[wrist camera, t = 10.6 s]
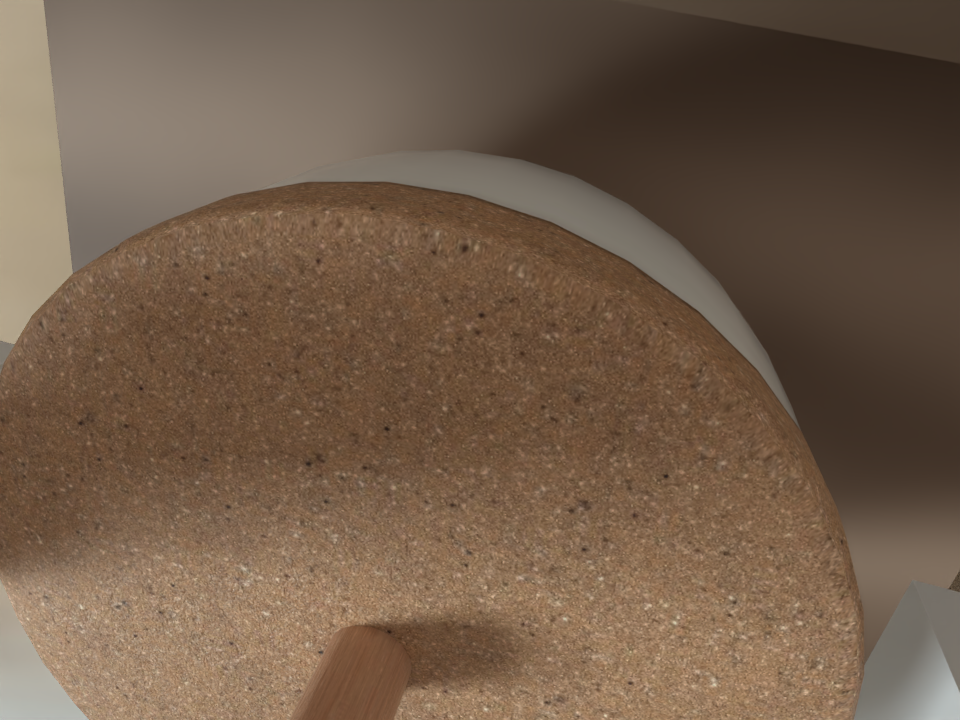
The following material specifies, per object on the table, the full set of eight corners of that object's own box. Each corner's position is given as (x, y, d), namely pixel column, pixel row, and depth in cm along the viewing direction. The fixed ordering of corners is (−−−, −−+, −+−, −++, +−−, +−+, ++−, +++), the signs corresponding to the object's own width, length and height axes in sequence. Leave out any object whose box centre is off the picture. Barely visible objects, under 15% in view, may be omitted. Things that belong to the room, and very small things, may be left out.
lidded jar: (836, 107, 12) (1153, 361, 4) (725, 602, 17) (773, 1164, 9) (233, 75, 14) (-347, 202, 6) (285, 525, 19) (-2, 932, 11)
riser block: (810, 648, 22) (862, 901, 16) (183, 472, 25) (23, 634, 19) (1168, -40, 14) (1563, -53, 8) (158, -202, 16) (-153, -311, 10)
